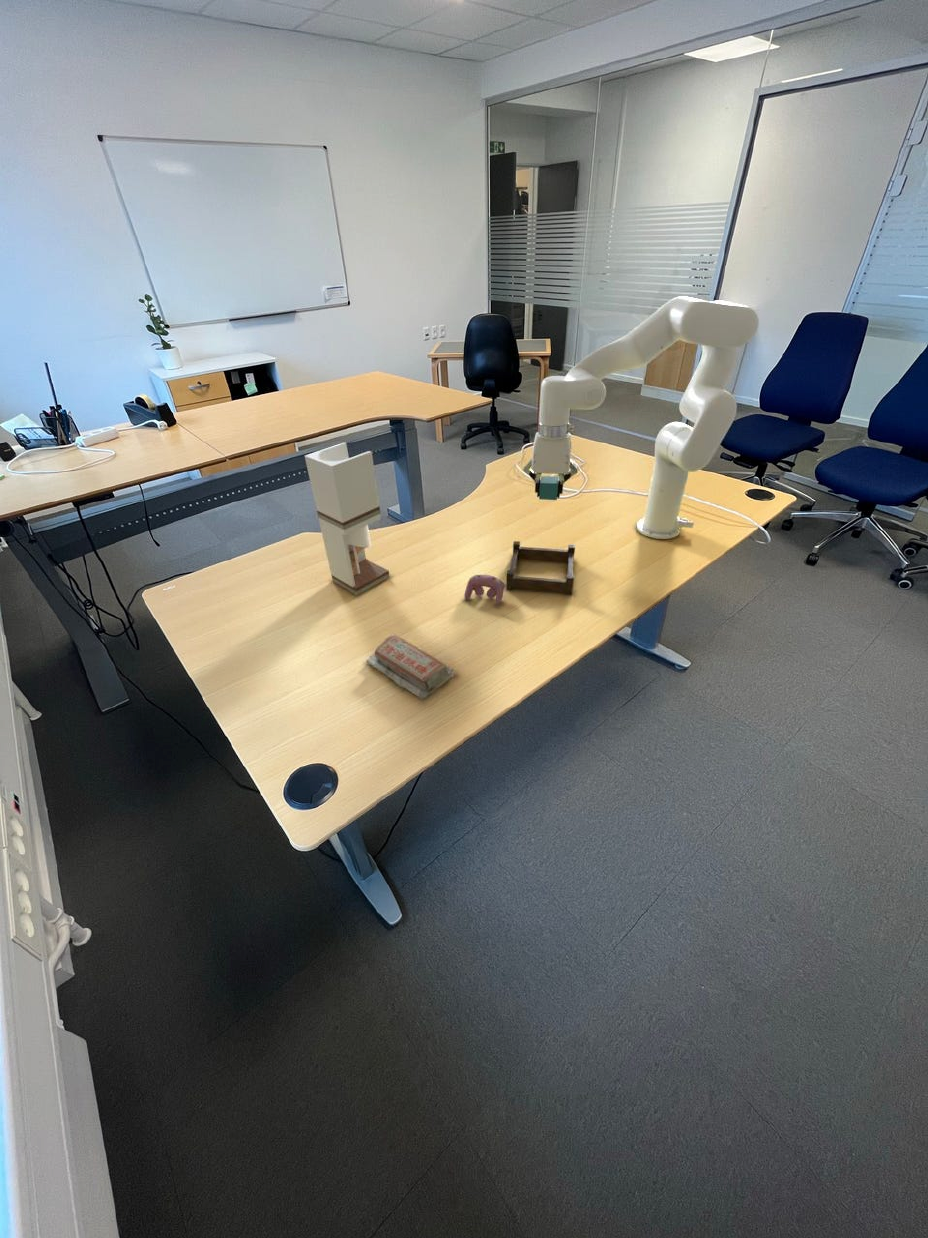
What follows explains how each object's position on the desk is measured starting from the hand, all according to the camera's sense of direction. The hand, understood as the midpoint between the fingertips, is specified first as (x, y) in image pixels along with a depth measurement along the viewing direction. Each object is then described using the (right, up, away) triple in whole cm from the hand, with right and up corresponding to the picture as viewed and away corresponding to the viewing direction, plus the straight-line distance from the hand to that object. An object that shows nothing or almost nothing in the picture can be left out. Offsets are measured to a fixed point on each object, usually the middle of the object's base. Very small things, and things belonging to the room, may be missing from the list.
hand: (548, 494), depth 144 cm
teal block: (0, 0, 0) cm, 0 cm away
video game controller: (-18, -29, -11) cm, 36 cm away
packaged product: (-35, -46, -31) cm, 66 cm away
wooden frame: (-3, -22, -3) cm, 23 cm away
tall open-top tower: (-52, -24, -2) cm, 57 cm away
